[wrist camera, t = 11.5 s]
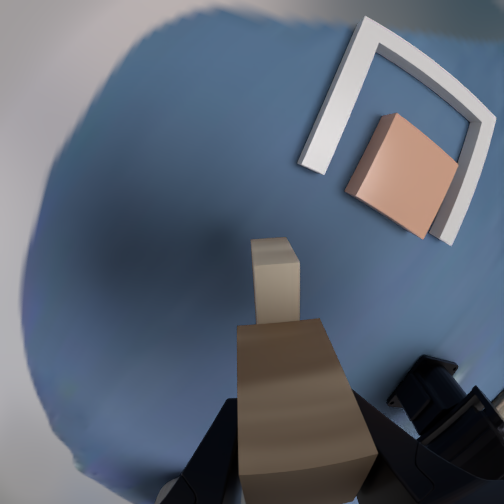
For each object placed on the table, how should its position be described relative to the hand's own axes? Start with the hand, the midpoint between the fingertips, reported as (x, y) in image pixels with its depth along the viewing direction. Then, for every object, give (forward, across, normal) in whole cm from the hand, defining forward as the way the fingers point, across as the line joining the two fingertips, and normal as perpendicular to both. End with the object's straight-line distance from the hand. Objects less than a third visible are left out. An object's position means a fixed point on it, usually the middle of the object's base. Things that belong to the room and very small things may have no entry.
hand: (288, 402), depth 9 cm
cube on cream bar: (+6, 0, 0) cm, 6 cm away
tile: (+13, -10, -6) cm, 17 cm away
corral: (+12, -11, -8) cm, 18 cm away
